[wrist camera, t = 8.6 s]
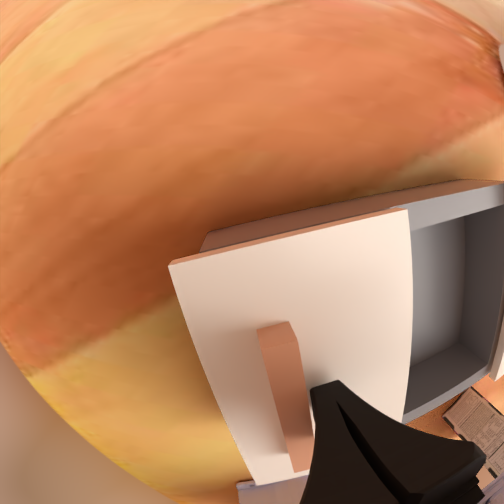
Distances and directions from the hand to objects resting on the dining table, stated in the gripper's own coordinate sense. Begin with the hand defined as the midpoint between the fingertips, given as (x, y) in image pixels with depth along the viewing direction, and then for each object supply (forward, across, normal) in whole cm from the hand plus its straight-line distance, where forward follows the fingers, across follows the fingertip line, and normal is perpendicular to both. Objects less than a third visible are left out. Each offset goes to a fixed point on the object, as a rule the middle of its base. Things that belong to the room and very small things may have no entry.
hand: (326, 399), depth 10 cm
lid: (+1, 0, 0) cm, 1 cm away
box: (+7, -6, 0) cm, 9 cm away
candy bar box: (+7, -20, +20) cm, 29 cm away
